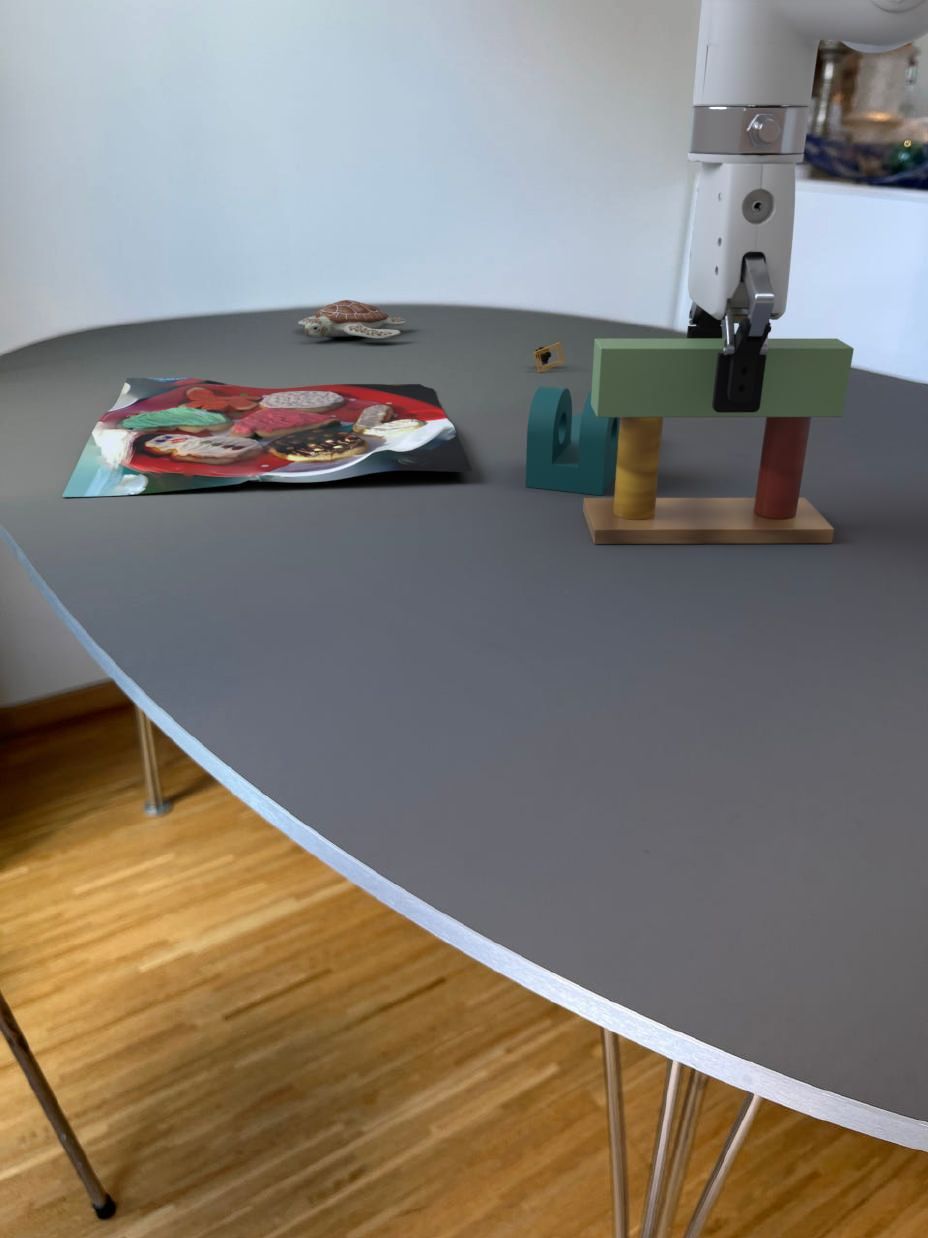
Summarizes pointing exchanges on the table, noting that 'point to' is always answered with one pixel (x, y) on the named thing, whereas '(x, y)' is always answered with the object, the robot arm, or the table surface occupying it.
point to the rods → (707, 519)
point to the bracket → (569, 445)
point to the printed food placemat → (260, 436)
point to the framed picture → (547, 356)
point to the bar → (685, 378)
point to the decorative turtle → (350, 321)
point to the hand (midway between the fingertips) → (718, 393)
